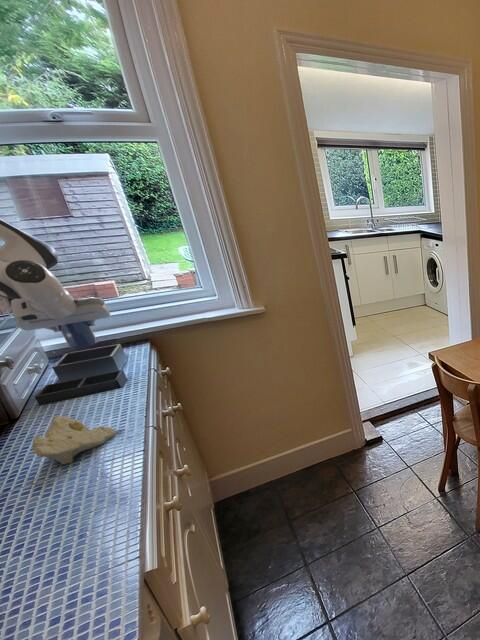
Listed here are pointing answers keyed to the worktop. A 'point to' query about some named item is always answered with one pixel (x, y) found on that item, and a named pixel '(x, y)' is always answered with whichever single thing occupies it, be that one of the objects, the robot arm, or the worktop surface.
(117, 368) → the sink
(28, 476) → the worktop surface
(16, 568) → the worktop surface
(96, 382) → the divided tray
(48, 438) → the cheese
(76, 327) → the cup
